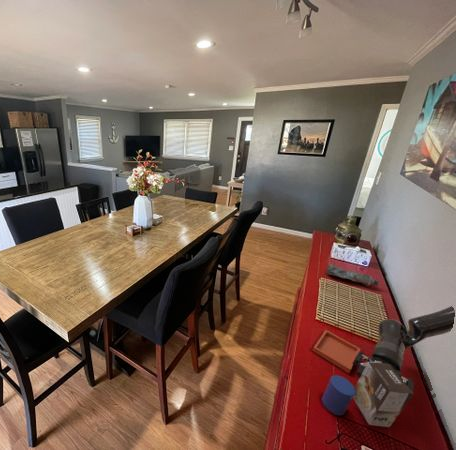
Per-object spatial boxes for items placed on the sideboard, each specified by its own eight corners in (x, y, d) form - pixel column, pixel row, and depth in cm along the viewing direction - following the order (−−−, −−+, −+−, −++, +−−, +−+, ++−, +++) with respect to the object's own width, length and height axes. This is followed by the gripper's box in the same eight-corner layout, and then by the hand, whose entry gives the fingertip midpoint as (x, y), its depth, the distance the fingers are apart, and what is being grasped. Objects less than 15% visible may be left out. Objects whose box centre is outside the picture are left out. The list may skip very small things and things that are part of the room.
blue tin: (347, 406, 79) (357, 386, 75) (341, 420, 75) (352, 400, 71) (325, 391, 84) (334, 371, 80) (318, 403, 80) (327, 383, 76)
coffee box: (391, 428, 71) (416, 395, 65) (368, 425, 72) (390, 392, 65) (369, 395, 80) (390, 363, 73) (349, 393, 80) (367, 361, 74)
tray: (358, 352, 99) (360, 348, 98) (349, 373, 90) (350, 369, 89) (324, 333, 107) (325, 329, 107) (312, 350, 99) (313, 347, 98)
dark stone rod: (323, 276, 149) (375, 293, 134) (326, 265, 147) (380, 282, 131) (326, 269, 159) (375, 285, 143) (329, 259, 156) (380, 274, 141)
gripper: (410, 380, 80) (403, 414, 70) (358, 351, 90) (345, 377, 80) (420, 364, 77) (415, 397, 67) (365, 336, 87) (353, 361, 77)
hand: (377, 386), depth 74 cm, fingers closed on coffee box, 8 cm apart
